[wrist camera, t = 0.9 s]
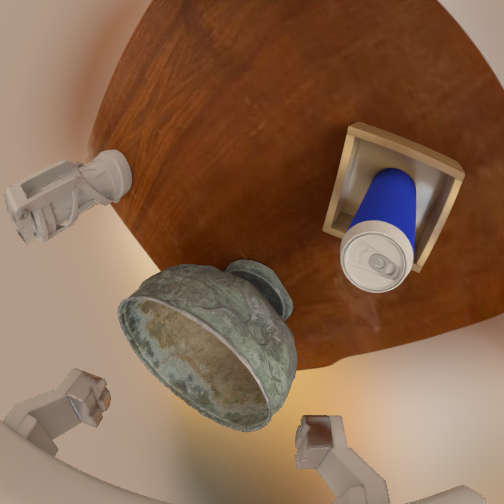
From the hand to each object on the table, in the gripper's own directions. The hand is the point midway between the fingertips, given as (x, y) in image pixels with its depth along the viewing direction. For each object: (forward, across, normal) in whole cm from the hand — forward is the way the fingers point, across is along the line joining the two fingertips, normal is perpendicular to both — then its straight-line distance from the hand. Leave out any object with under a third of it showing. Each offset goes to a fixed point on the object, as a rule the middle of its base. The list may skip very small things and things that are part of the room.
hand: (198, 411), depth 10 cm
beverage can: (+22, -15, -8) cm, 28 cm away
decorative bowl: (+36, -2, +13) cm, 38 cm away
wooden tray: (+22, -15, -8) cm, 28 cm away
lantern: (+44, +28, -5) cm, 53 cm away
